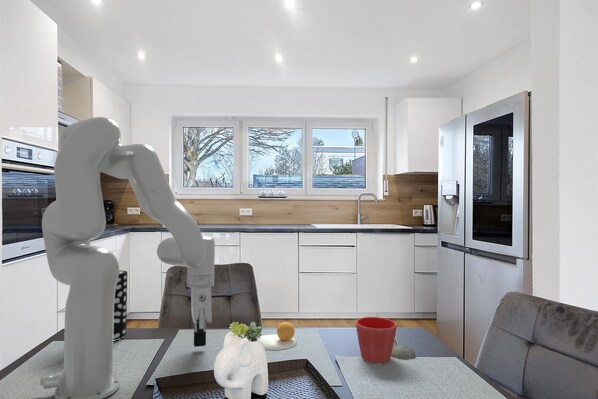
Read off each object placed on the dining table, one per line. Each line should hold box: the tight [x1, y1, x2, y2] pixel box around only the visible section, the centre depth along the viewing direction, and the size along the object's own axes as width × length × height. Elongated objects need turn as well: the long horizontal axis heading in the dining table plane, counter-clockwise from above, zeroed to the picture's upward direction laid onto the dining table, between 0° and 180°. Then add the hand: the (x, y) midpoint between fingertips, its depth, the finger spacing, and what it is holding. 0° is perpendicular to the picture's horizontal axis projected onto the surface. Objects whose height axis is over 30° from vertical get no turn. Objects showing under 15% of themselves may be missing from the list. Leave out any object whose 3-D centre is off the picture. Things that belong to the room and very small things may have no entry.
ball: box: [276, 321, 295, 341], centre depth 117 cm, size 6×6×6 cm
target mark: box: [259, 334, 297, 351], centre depth 115 cm, size 13×13×1 cm
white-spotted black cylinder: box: [113, 270, 128, 339], centre depth 118 cm, size 8×8×20 cm
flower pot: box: [355, 316, 398, 364], centre depth 104 cm, size 11×11×10 cm
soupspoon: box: [391, 335, 416, 361], centre depth 113 cm, size 22×3×7 cm
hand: (199, 345), depth 108 cm, fingers closed
